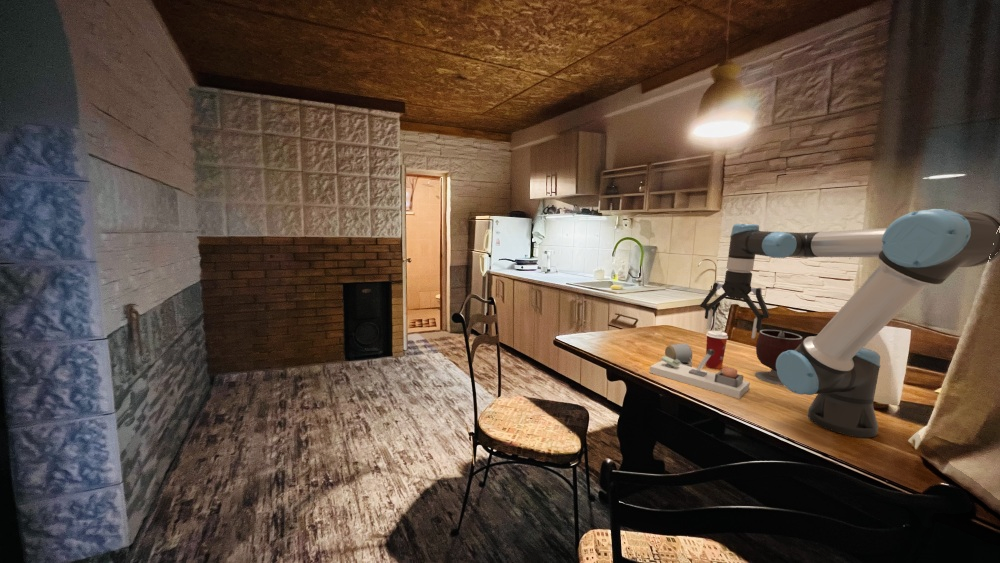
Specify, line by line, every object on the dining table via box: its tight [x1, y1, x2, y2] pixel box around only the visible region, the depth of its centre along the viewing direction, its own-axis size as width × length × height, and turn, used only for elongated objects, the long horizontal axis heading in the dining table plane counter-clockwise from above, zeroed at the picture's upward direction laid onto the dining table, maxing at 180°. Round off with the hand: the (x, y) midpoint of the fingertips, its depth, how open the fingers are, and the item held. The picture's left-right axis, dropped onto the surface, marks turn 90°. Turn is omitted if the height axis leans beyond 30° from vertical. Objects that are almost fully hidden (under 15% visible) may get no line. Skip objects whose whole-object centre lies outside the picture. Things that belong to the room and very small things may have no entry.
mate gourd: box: [754, 329, 803, 386], centre depth 146 cm, size 16×14×20 cm
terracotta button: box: [721, 366, 738, 379], centre depth 136 cm, size 4×4×2 cm
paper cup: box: [705, 330, 729, 370], centre depth 158 cm, size 8×8×14 cm
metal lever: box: [696, 349, 714, 371], centre depth 141 cm, size 2×2×9 cm
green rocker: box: [660, 355, 680, 367], centre depth 150 cm, size 6×4×2 cm, turn 45°
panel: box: [649, 360, 751, 400], centre depth 143 cm, size 30×12×5 cm, turn 45°
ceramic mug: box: [664, 343, 693, 367], centre depth 161 cm, size 11×8×8 cm
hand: (730, 332), depth 135 cm, fingers open, 13 cm apart
